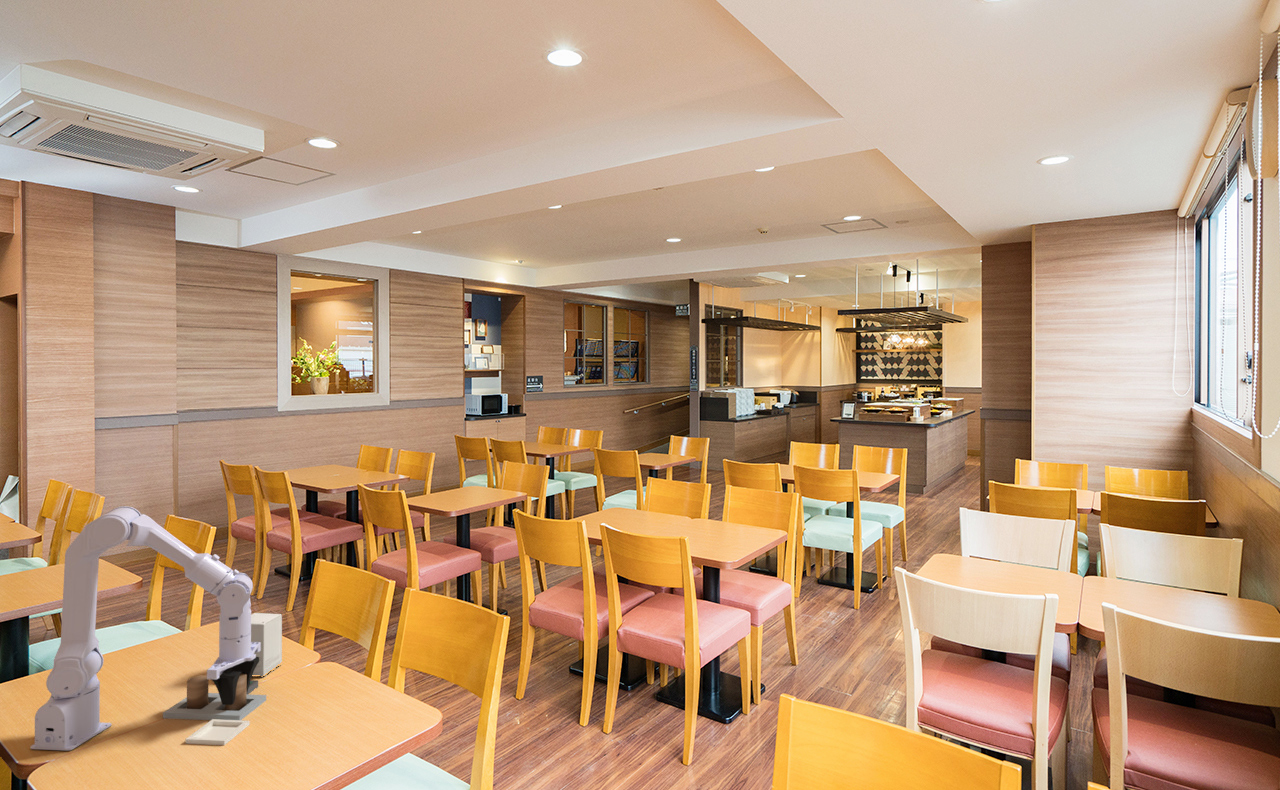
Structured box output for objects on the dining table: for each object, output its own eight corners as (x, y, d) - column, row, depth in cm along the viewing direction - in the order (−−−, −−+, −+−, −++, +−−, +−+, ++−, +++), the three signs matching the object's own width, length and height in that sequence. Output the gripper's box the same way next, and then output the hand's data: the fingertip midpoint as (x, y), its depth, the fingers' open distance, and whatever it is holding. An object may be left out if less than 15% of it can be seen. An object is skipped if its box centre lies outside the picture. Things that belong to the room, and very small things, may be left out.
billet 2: (238, 713, 139) (238, 681, 139) (220, 711, 139) (221, 680, 139) (250, 704, 143) (250, 673, 142) (233, 703, 143) (233, 672, 143)
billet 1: (200, 714, 139) (200, 683, 139) (182, 714, 139) (182, 683, 139) (212, 706, 143) (212, 675, 143) (195, 705, 143) (195, 675, 143)
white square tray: (224, 747, 127) (224, 740, 127) (185, 745, 128) (185, 739, 128) (249, 726, 135) (249, 720, 135) (212, 725, 135) (212, 719, 135)
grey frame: (239, 723, 136) (239, 715, 136) (162, 719, 137) (163, 712, 137) (266, 702, 145) (266, 695, 145) (194, 699, 146) (194, 692, 146)
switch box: (244, 698, 146) (244, 690, 146) (221, 697, 147) (221, 689, 147) (258, 688, 151) (258, 680, 151) (236, 687, 152) (236, 679, 152)
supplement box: (283, 665, 164) (283, 613, 164) (263, 678, 157) (263, 624, 156) (254, 663, 165) (255, 611, 164) (233, 676, 157) (233, 622, 157)
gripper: (231, 648, 133) (230, 716, 133) (274, 622, 148) (273, 684, 148) (196, 647, 133) (196, 715, 134) (242, 621, 148) (242, 682, 148)
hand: (234, 698), depth 141 cm, fingers closed on billet 2, 4 cm apart
